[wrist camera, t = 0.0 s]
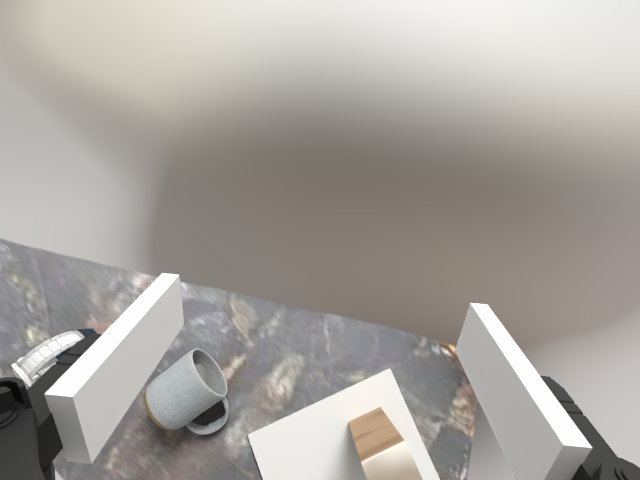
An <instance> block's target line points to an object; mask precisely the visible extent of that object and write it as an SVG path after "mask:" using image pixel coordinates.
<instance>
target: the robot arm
mask: <svg viewBox="0 0 640 480" xmlns="http://www.w3.org/2000/svg"><path fill="white" fill-rule="evenodd" d="M183 325H184V319H183V308H182V297H181V287H180V276H179V275H176V274H165V273H162V274H161V275H160V276H159V277H158V278H157V279H156V280H155V281H154V282H153V283H152V284H151V285H150V286H149V287H148V288H147V289H146V291H145V292H144V293H143V294H142V295H141V296H140V297H139V298H138V299H137V300H136V301H135V302H134V303H133V304H132V305H131V306H130V307H129V308H128V309H127V310H126V311H125V312H124V313H123V314H122V315H121V316H120V317H119V318H118V319H117V320H116V321H115V322H114V323H113V324H112V325H111V326H110V327H109V328H108V329H107V330H106V331H105V332H104V333H103V334H96V333H92V334H90V335H89V336H87V337H85V338H83V339H82V340H80V341H78V342H77V343H76V344H74V345H73V346H72V347H71V348H70V349H69V350H68V351H67V352H66V353H65V355H63V356H62V357H61V358H60V359H59V360H58V361H57V362H56V364H55V365H52V366H51V367H50V368H49V369H48V370H47V371H46V372H45V373H44V374H43V375H42V376H41V377H40V378H39V379H38V380H37V381H36V382H35V383H33V384H32V385H31V386H30V387H29V388H28V389H27V390H26V387H25V384H24V382H23V380H21V379H19V378H16V377H5V378H1V379H0V480H55V468H54V465H53V462H52V461H53V460H54V458H55V457H56V456H57V454H58V453H59V452H60V451H61V449H63V452H64V455H65V458H66V461H69V462H79V463H89V464H92V463H93V461H94V460H95V458H96V457H97V455H98V454H99V452H100V451H101V449H102V448H103V446H104V445H105V443H106V442H107V440H108V439H109V437H110V436H111V434H112V433H113V431H114V430H115V428H116V427H117V425H118V424H119V422H120V421H121V419H122V417H123V416H124V414H125V413H126V411H127V410H128V408H129V407H130V405H131V404H132V402H133V401H134V399H135V398H136V396H137V395H138V393H139V392H140V390H141V389H142V387H143V386H144V384H145V383H146V381H147V380H148V378H149V377H150V375H151V374H152V372H153V371H154V369H155V368H156V366H157V365H158V363H159V362H160V360H161V359H162V357H163V356H164V354H165V353H166V351H167V350H168V348H169V347H170V345H171V344H172V342H173V341H174V339H175V338H176V336H177V334H178V333H179V331H180V330H181V328H182V327H183ZM455 352H456V354H457V356H458V358H459V360H460V362H461V364H462V367H463V369H464V371H465V373H466V375H467V377H468V379H469V381H470V384H471V386H472V388H473V390H474V392H475V394H476V396H477V398H478V400H479V403H480V405H481V407H482V409H483V411H484V413H485V415H486V417H487V419H488V422H489V424H490V426H491V428H492V430H493V432H494V434H495V436H496V439H497V441H498V443H499V445H500V447H501V449H502V451H503V453H504V455H505V458H506V460H507V462H508V464H509V466H510V468H511V470H512V472H513V475H514V477H515V479H516V480H640V468H639V467H637V466H636V465H634V464H633V463H631V462H628V461H626V460H624V459H622V458H618V457H617V456H616V455H615V453H614V452H613V451H612V450H611V448H610V447H609V446H608V444H607V443H606V442H605V440H604V439H603V438H602V437H601V435H600V434H599V433H598V432H597V430H596V429H595V428H594V426H593V425H592V424H591V423H590V421H589V420H588V419H587V418H586V416H583V413H582V411H581V410H580V409H579V407H578V406H577V405H575V404H574V401H573V400H572V398H571V397H570V396H569V395H568V393H567V392H566V391H565V389H564V388H562V387H561V386H560V385H559V384H558V383H556V382H555V381H554V380H552V379H551V378H550V377H546V376H539V374H538V373H537V372H536V371H535V369H534V368H533V366H532V365H531V363H530V362H529V361H528V359H527V358H526V357H525V355H524V354H523V353H522V351H521V350H520V348H519V347H518V346H517V345H516V343H515V342H514V340H513V339H512V338H511V336H510V335H509V333H508V332H507V331H506V329H505V328H504V327H503V325H502V324H501V323H500V321H499V320H498V318H497V317H496V316H495V314H494V313H493V312H492V310H491V309H490V308H489V306H488V305H486V304H476V303H470V306H469V309H468V312H467V315H466V319H465V321H464V325H463V328H462V331H461V334H460V337H459V340H458V344H457V347H456V350H455Z"/></svg>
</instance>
